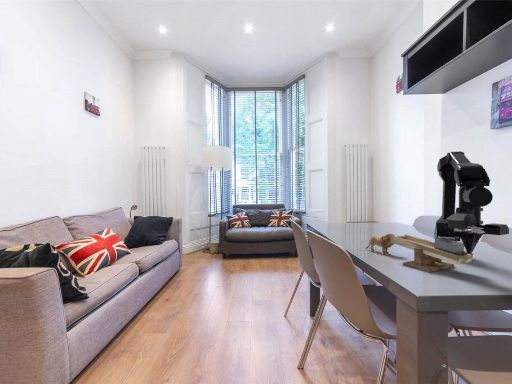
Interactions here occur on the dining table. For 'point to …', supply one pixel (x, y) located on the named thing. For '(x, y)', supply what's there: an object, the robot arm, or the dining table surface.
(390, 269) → the dining table surface
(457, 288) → the dining table surface
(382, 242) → the lion figurine
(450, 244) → the block
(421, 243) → the beam
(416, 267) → the stand
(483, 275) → the dining table surface
